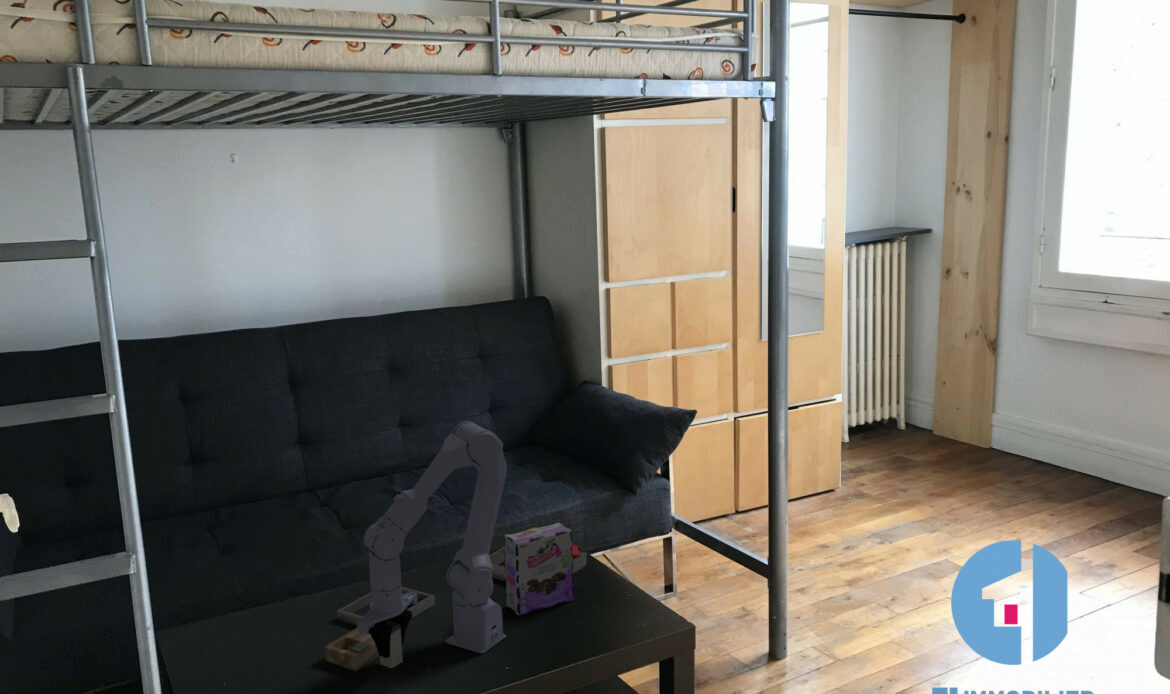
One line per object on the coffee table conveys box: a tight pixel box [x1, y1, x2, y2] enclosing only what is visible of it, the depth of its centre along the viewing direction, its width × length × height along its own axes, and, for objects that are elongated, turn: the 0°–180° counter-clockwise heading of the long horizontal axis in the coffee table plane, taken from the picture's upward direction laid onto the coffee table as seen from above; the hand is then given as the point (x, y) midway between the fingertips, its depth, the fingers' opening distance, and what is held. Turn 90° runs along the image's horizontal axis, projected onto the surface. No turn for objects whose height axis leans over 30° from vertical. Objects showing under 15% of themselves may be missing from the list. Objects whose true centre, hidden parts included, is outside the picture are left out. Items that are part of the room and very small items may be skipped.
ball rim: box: [489, 545, 588, 582], centre depth 224 cm, size 20×17×3 cm
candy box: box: [503, 522, 575, 616], centre depth 205 cm, size 14×6×16 cm, turn 120°
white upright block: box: [379, 620, 404, 669], centre depth 182 cm, size 3×3×8 cm
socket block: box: [323, 627, 380, 672], centre depth 188 cm, size 8×13×3 cm, turn 149°
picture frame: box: [336, 586, 436, 626], centre depth 205 cm, size 14×16×2 cm
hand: (390, 651), depth 183 cm, fingers closed on white upright block, 3 cm apart
